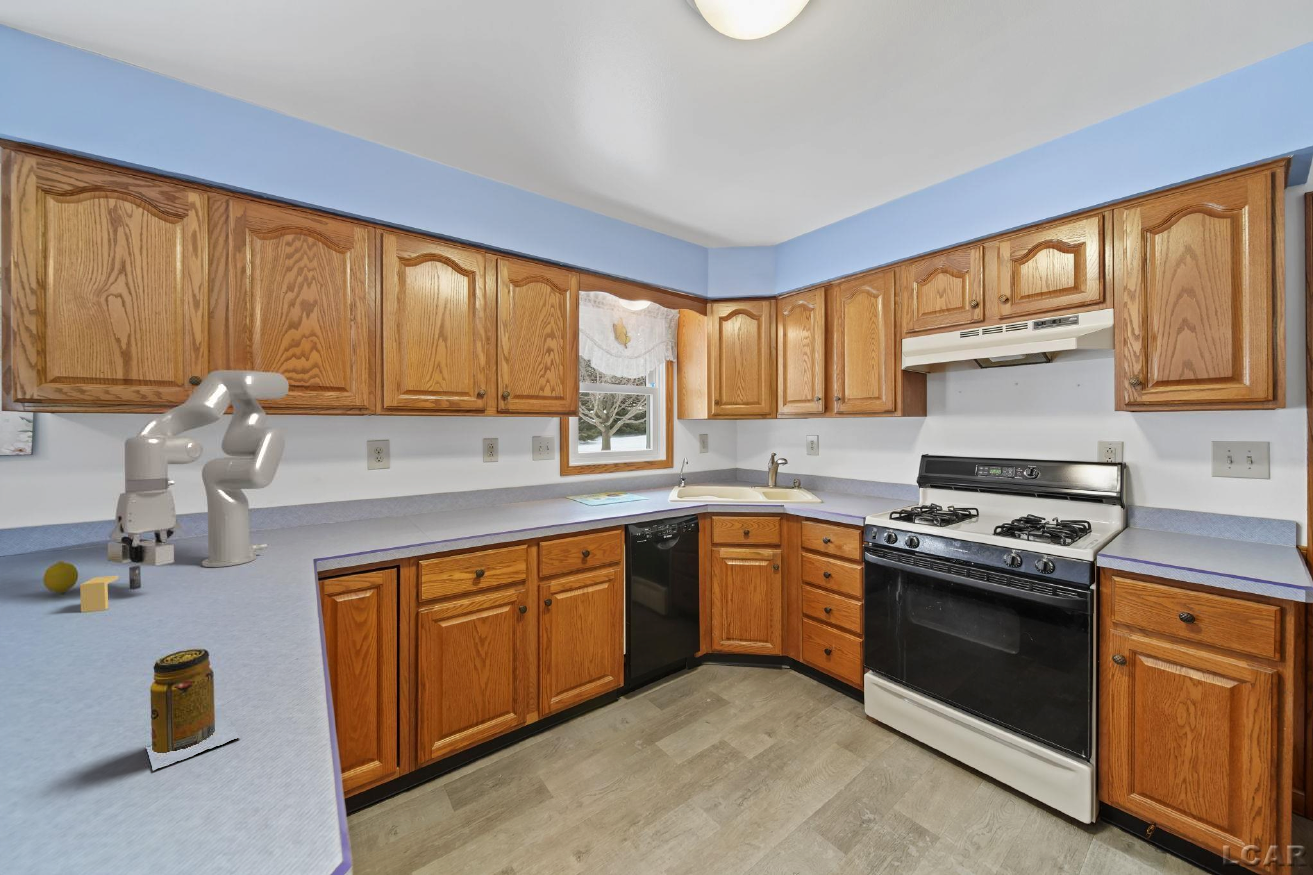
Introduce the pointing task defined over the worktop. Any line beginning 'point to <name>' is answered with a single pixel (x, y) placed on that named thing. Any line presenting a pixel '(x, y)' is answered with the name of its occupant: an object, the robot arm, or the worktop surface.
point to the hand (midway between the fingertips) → (147, 559)
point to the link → (143, 552)
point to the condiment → (182, 701)
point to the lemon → (60, 577)
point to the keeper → (95, 593)
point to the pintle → (135, 577)
